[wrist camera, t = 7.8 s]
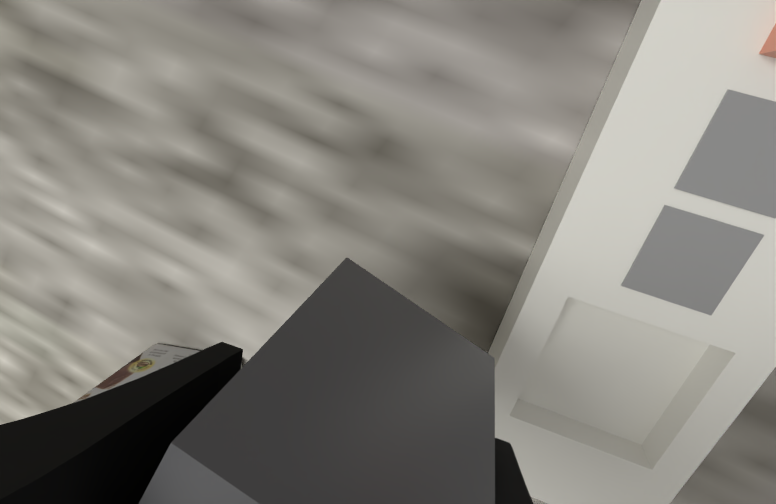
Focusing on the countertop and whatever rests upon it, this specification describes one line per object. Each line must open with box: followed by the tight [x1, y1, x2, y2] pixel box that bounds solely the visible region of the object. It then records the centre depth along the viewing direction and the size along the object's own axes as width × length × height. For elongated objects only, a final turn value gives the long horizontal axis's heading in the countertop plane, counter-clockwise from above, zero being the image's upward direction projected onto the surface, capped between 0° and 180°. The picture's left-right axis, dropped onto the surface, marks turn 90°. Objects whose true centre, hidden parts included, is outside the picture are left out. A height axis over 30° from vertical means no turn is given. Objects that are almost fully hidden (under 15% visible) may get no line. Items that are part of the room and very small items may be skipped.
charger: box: [139, 258, 495, 504], centre depth 10 cm, size 5×5×7 cm
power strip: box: [488, 0, 776, 504], centre depth 16 cm, size 9×22×3 cm, turn 165°
